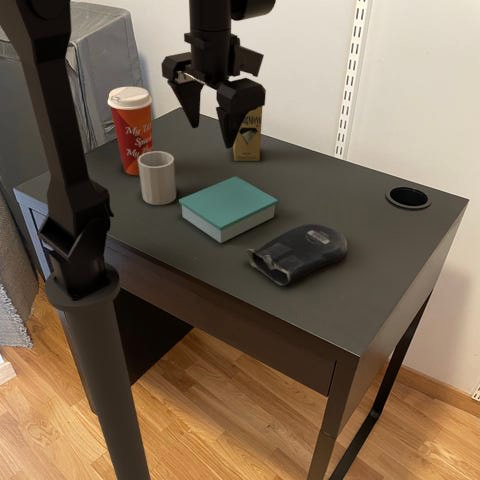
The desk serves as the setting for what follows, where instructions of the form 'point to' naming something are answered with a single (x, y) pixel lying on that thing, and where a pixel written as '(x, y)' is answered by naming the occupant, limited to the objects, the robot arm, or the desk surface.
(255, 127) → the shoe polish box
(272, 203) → the teal flat box
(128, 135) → the paper cup
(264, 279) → the desk surface
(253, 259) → the black pouch
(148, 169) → the beige cup
